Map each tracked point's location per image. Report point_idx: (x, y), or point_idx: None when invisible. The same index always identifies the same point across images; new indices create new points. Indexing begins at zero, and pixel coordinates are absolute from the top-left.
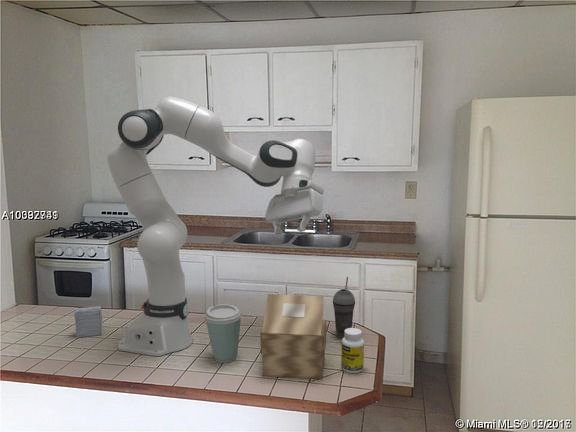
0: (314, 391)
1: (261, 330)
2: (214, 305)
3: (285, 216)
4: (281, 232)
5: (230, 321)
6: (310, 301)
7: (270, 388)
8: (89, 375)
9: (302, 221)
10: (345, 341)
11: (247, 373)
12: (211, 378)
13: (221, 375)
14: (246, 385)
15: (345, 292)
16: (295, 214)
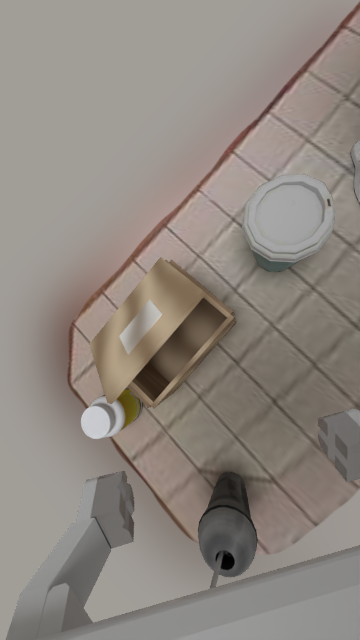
0: (109, 316)
1: (179, 266)
2: (332, 202)
3: (313, 560)
4: (335, 461)
5: (243, 220)
6: (123, 368)
7: (147, 270)
8: (344, 37)
9: (61, 543)
10: (103, 399)
11: (204, 261)
12: (220, 208)
13: (221, 224)
14: (173, 245)
15: (212, 550)
16: (139, 609)
